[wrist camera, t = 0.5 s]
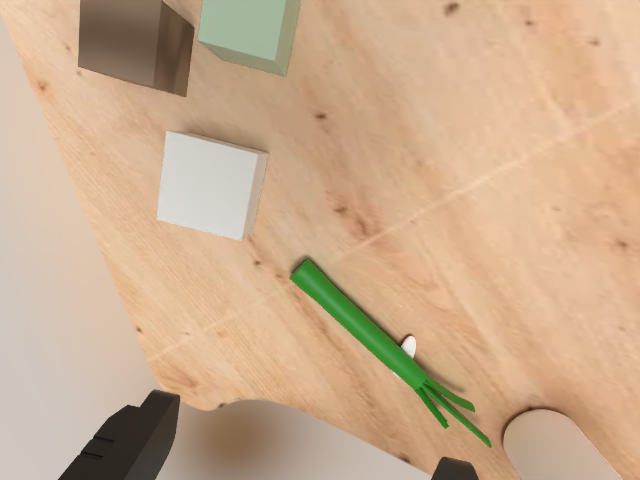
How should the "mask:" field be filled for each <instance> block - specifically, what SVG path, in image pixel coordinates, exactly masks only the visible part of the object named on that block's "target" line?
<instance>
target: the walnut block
mask: <svg viewBox="0 0 640 480" xmlns="http://www.w3.org/2000/svg"><path fill="white" fill-rule="evenodd" d="M194 29H195V28H194V27H193V26H192V25H190V24H189V23H188V22H187V21H186V20H184V19H183V18H182V17H181V16H180V15H179V14H177V13H176V12H175V11H174V10H173V9H171V8H170V7H169V6H168V5H167V4H165V3H164V2H163V1H162V0H80V27H79V56H78V67H81V68H84V69H88V70H91V71H94V72H97V73H101V74H104V75H107V76H110V77H114V78H117V79H120V80H123V81H127V82H131V83H134V84H138V85H142V86H146V87H150V88H153V89H157V90H161V91H165V92H169V93H173V94H176V95H180V96H184V97H186V93H187V85H188V77H189V69H190V61H191V53H192V45H193V37H194Z"/></svg>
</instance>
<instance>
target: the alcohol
mask: <svg viewBox="0 0 640 480" xmlns="http://www.w3.org/2000/svg"><path fill="white" fill-rule="evenodd" d="M503 447H504V451H505V453H506V455H507V457H508V459H509V460H510V462H511V464H512V466H513V468H514V469H515V471H516V473H517V475H518V477H519V478H520V480H623V479H622V478H621V476H620V475H619V474H618V473H617V472H616V471H615V470H614V468H613V467H612V466H611V465H610V464H609V463H608V461H607V460H606V459H605V458H604V457H603V456H602V455H601V453H600V452H599V451H598V450H597V449H596V448H595V446H594V445H593V444H592V443H591V442H590V441H589V440H588V438H587V437H586V436H585V435H584V434H583V433H582V431H581V430H580V429H579V428H578V427H577V426H576V424H575V423H574V422H573V421H572V420H571V419H569V418H568V417H567V416H565V415H562V414H560V413H557V412H554V411H551V410H546V409H536V410H530V411H527V412H524V413H522V414H520V415H518V416H517V417H515V418H514V419H513V420H512V421H511V422H510V423H509V425H508V426H507V428H506V430H505V434H504V441H503Z"/></svg>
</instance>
